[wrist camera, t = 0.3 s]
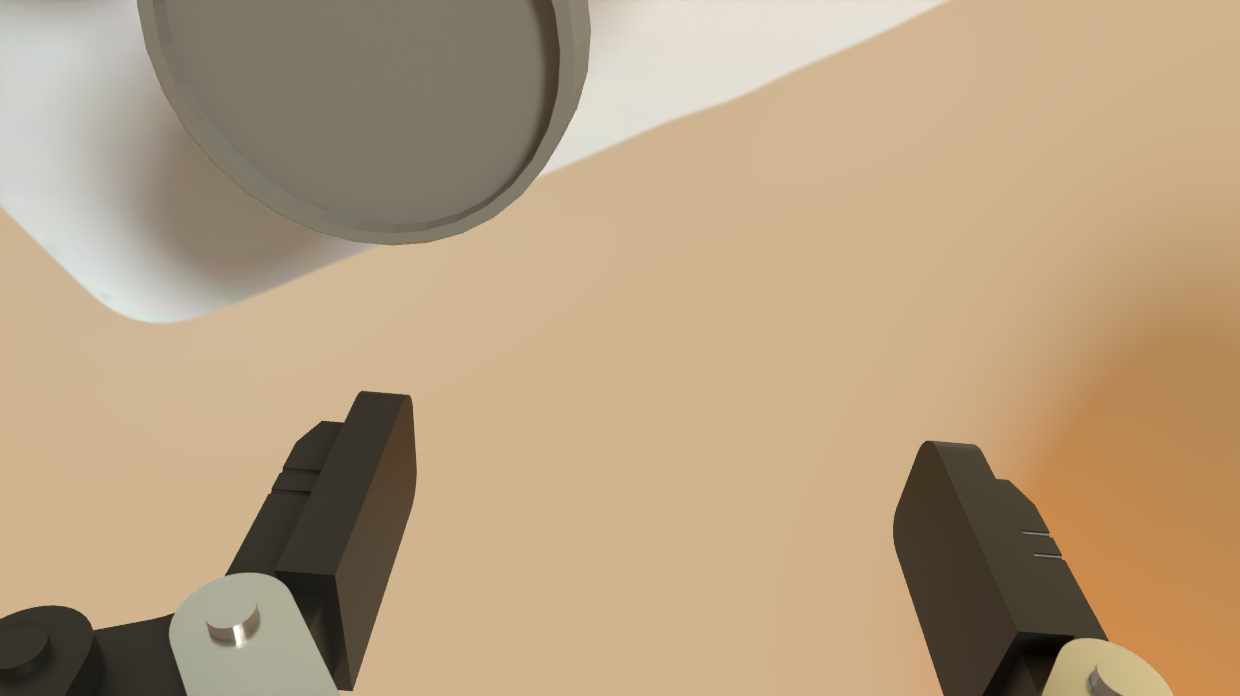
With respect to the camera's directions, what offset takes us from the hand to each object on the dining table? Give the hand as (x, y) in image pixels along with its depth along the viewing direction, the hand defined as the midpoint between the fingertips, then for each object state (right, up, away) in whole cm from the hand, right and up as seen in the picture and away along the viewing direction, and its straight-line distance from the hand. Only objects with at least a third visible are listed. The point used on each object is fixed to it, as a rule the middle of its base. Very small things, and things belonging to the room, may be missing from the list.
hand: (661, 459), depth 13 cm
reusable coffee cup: (-8, +18, +23) cm, 30 cm away
